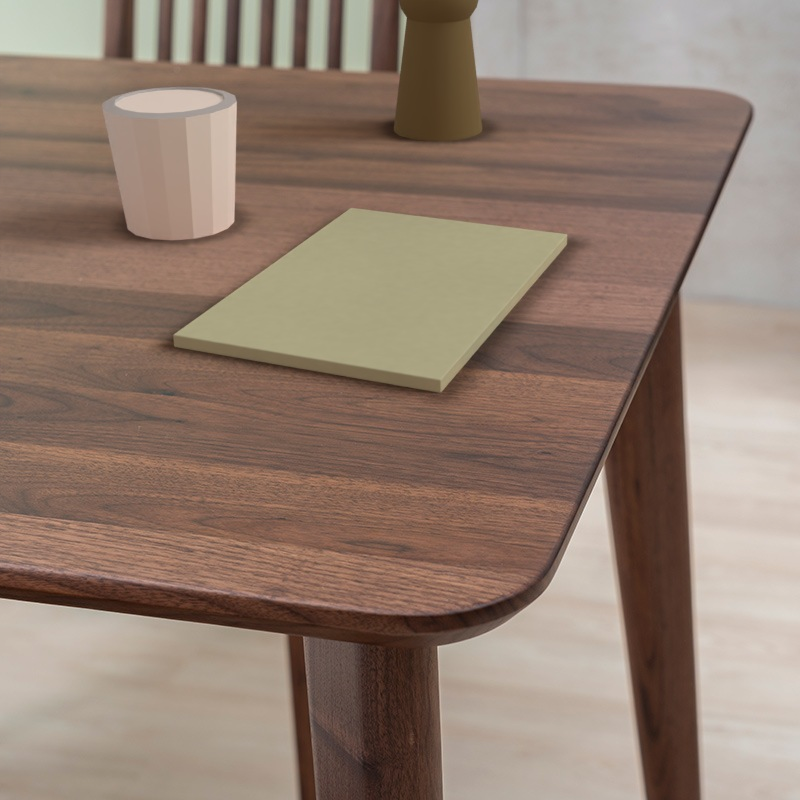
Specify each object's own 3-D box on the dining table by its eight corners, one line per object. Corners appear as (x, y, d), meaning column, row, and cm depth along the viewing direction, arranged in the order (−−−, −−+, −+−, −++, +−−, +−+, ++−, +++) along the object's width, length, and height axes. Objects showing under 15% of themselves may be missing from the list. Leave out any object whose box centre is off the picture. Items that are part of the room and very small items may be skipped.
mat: (351, 225, 68) (350, 207, 67) (566, 252, 64) (567, 233, 63) (174, 356, 53) (172, 334, 53) (440, 403, 49) (440, 379, 48)
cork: (496, 129, 85) (500, -42, 80) (462, 151, 80) (465, -28, 75) (415, 120, 87) (414, -46, 82) (377, 142, 83) (374, -34, 78)
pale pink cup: (130, 259, 63) (114, 122, 60) (105, 219, 69) (90, 91, 66) (261, 241, 66) (253, 107, 62) (227, 203, 71) (217, 79, 68)
